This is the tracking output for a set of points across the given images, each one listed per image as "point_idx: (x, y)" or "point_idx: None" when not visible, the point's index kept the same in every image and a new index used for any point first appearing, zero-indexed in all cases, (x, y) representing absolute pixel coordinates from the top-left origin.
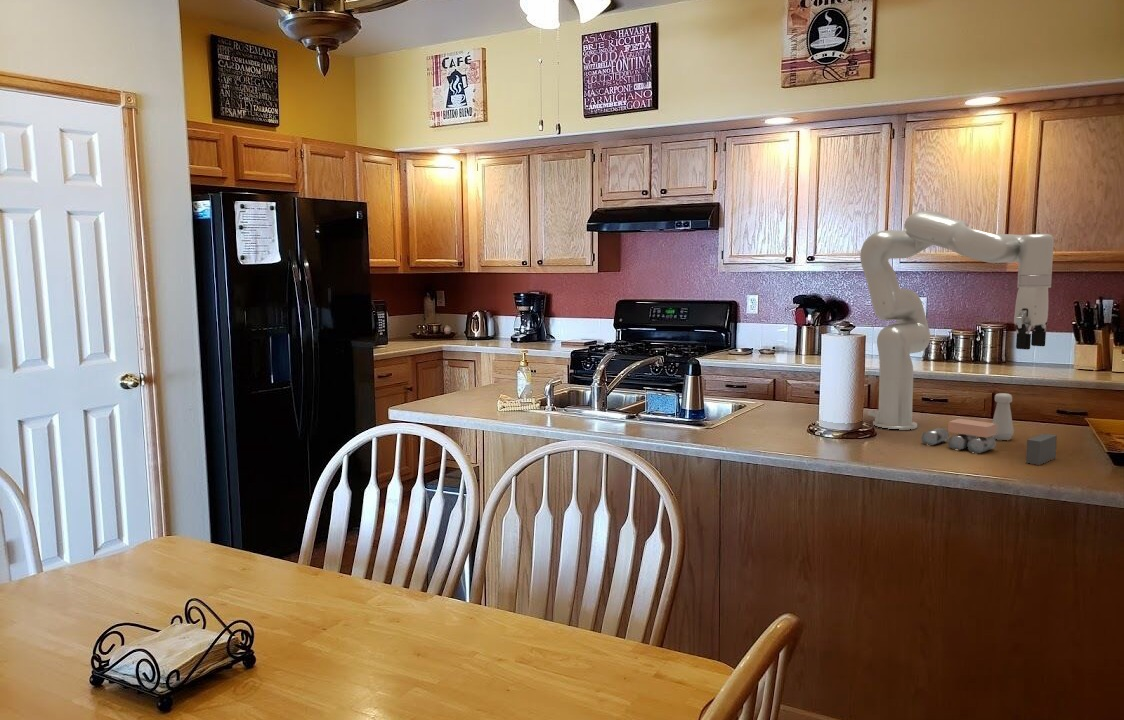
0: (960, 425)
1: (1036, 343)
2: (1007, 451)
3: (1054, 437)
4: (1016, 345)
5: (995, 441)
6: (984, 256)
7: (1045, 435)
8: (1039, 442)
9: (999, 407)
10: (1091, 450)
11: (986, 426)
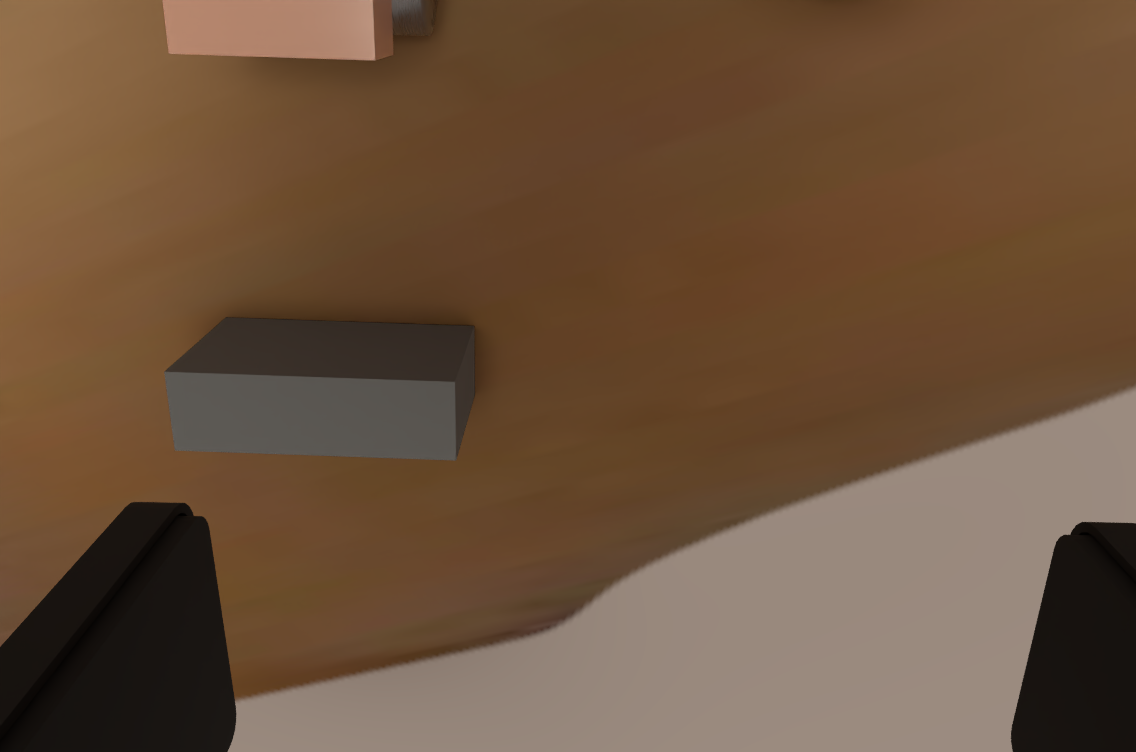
0: None
1: (1059, 654)
2: (457, 113)
3: (417, 455)
4: (106, 538)
5: (424, 34)
6: None
7: (398, 410)
8: (175, 442)
9: None
10: (848, 468)
11: (188, 39)
